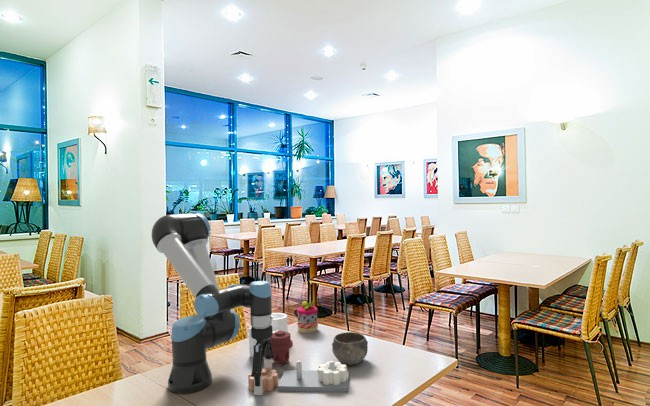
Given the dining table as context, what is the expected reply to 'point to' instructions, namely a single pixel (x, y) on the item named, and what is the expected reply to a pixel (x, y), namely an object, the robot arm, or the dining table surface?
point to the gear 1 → (265, 379)
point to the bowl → (350, 347)
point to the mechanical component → (281, 346)
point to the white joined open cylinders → (277, 324)
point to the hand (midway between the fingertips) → (263, 385)
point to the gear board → (308, 380)
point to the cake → (307, 318)
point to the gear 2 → (332, 373)
